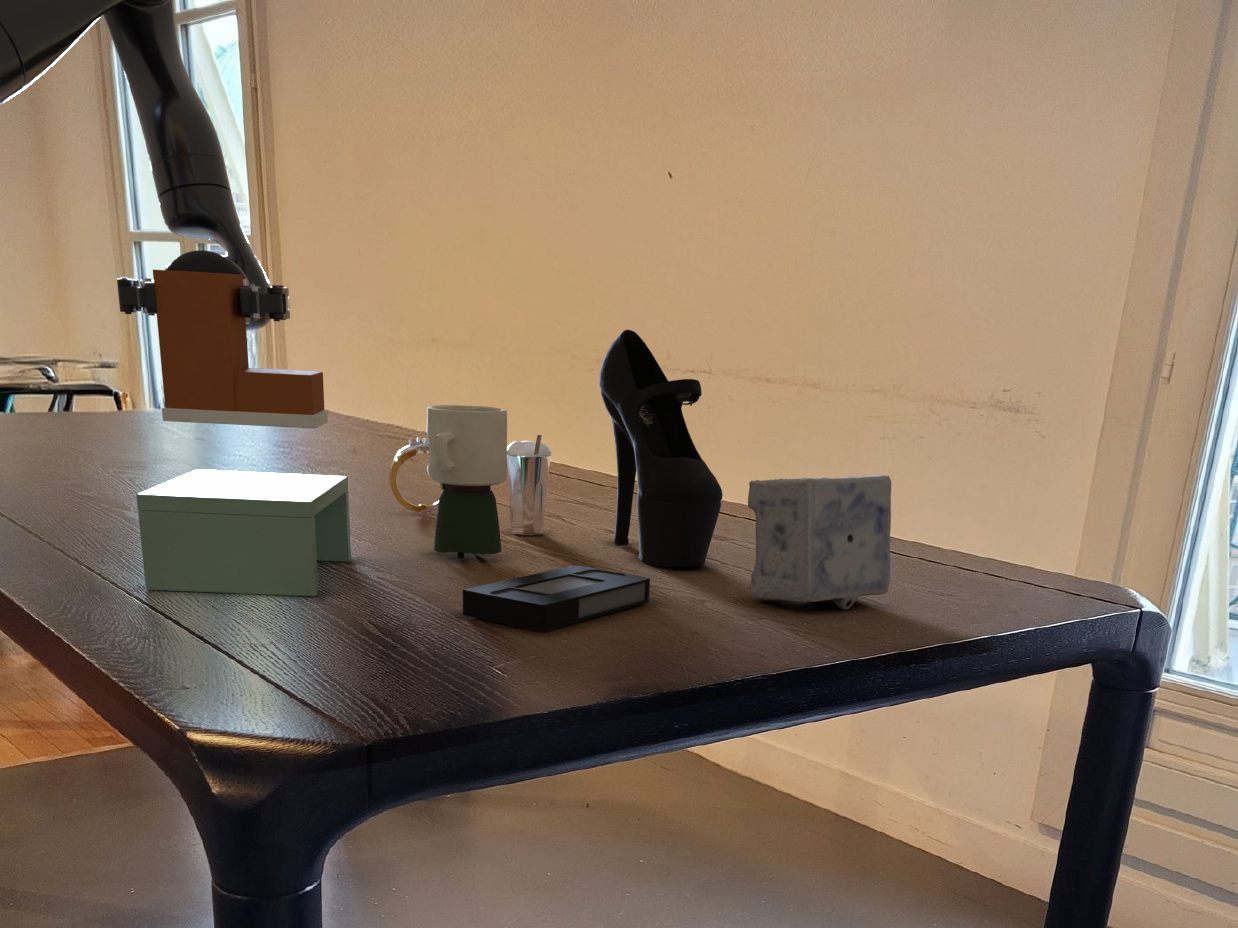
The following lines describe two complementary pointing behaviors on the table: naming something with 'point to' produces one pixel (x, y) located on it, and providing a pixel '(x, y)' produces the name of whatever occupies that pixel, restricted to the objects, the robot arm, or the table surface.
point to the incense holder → (821, 538)
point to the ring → (398, 460)
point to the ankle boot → (223, 360)
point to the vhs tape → (555, 597)
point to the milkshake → (528, 485)
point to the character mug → (467, 475)
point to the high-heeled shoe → (657, 458)
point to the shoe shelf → (243, 531)
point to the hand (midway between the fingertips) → (198, 300)
